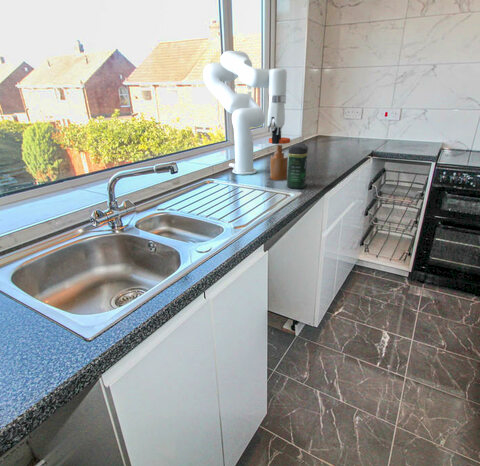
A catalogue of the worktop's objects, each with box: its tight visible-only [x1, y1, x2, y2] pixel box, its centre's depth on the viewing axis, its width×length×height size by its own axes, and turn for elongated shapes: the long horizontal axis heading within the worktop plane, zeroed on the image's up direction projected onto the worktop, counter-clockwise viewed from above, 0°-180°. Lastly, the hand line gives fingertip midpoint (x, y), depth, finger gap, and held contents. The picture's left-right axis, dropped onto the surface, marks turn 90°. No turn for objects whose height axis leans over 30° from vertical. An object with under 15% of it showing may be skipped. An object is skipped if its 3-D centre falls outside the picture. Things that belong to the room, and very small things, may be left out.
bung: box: [268, 136, 291, 145], centre depth 154 cm, size 10×10×2 cm
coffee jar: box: [286, 143, 309, 190], centre depth 144 cm, size 10×8×19 cm
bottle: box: [269, 144, 288, 181], centre depth 158 cm, size 8×8×16 cm
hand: (276, 143), depth 151 cm, fingers closed on bung, 2 cm apart
